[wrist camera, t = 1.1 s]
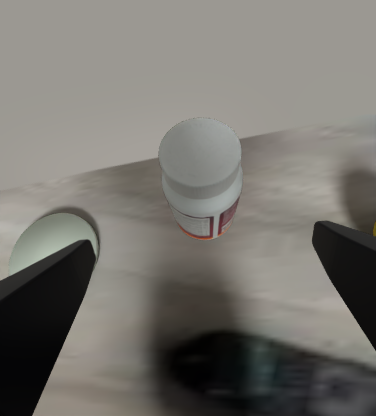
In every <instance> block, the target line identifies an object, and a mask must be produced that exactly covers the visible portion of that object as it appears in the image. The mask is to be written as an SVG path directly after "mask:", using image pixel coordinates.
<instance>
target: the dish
mask: <svg viewBox="0 0 376 416" xmlns="http://www.w3.org/2000/svg"><path fill="white" fill-rule="evenodd" d="M84 239H89V240H90V241H91V243H92V246H93V249H94V252H95V255H96V262H97V258H98V252H99V245H98V239H97V236H96V233H95V231H94V229H93V228H92V227H91V225H90V224H89V223H88V222H86V221H85V220H83V219H82V218H80V217H78V216H76V215H74V214H70V213H56V214H51V215H48V216H46V217H43V218H41V219H39V220H38V221H36V222H35V223H33V224H32V225H31V226H30V227H28V228H27V229H26V230H25V231H24V232H23V234H22V235H21V236H20V238H19V239H18V241H17V242H16V244H15V246H14V248H13V250H12V253H11V257H10V261H9V276H11V275H13V274H15V273H16V272H18V271H20V270H22V269H24V268H26V267H28V266H30V265H32V264H34V263H36V262H38V261H39V260H41V259H43V258H45V257H47V256H49V255H51V254H53V253H55V252H57V251H59V250H61V249H62V248H64V247H66V246H68V245H70V244H72V243H74V242H76V241H78V240H84ZM96 262H95V265H96ZM95 265H94V268H95ZM94 268H93V270H94Z"/></svg>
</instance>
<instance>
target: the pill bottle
mask: <svg viewBox="0 0 376 416" xmlns="http://www.w3.org/2000/svg"><path fill="white" fill-rule="evenodd" d="M241 152H242V150H241V144H240V141H239V138H238V137H237V135H236V134H235V132H234V131H233V130H232V129H231V128H230V127H229V126H227V125H226V124H224V123H222V122H220V121H218V120H215V119H210V118H193V119H189V120H186V121H183V122H181V123H179V124H177V125H176V126H174V127H173V128H172V129H170V130H169V131H168V132H167V134H166V135H165V136H164V138H163V140H162V141H161V144H160V147H159V162H160V166H161V169H162V187H163V191H164V194H165V197H166V198H167V201H168V203H169V205H170V207H171V210H172V212H173V214H174V216H175V219H176V221H177V223H178V225H179V227H180V228H181V229H182V231H183V232H184V233H186V234H187V235H188V236H190V237H192V238H194V239H198V240H211V239H214V238H217V237H219V236H221V235H222V234H224V233H225V232H226V231H227V230H228V228H229V227H230V225H231V223H232V221H233V218H234V215H235V211H236V208H237V204H238V201H239V197H240V194H241V190H242V185H243V171H242V167H241V164H240V160H241Z"/></svg>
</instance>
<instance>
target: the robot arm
mask: <svg viewBox="0 0 376 416" xmlns="http://www.w3.org/2000/svg"><path fill="white" fill-rule="evenodd" d="M312 244H313V247H314V249H315V251H316V253H317V255H318V257H319V259H320V261H321V263H322V265H323V267H324V269H325V271H326V273H327V275H328V277H329V279H330V280H331V282H332V283H333V285H334V287H335V288H336V290H337V291H338V293H339V294H340V296H341V298H342V299H343V301H344V302H345V304H346V305H347V307H348V308H349V310H350V311H351V313H352V315H353V316H354V318H355V319H356V321H357V322H358V324H359V325H360V327H361V329H362V330H363V332H364V333H365V335H366V336H367V338H368V339H369V341H370V343H371V344H372V346H373V347H374V349H375V350H376V236H373V235H370V234H367V233H364V232H361V231H358V230H355V229H352V228H348V227H345V226H342V225H339V224H336V223H333V222H330V221H317V222H316V223H315V225H314V230H313V237H312ZM95 262H96V255H95V252H94V249H93V246H92V243H91V241H90V240H89V239H84V240H78V241H76V242H74V243H72V244H70V245H68V246H66V247H64V248H62V249H61V250H59V251H57V252H55V253H53V254H51V255H49V256H47V257H45V258H43V259H41V260H39V261H38V262H36V263H34V264H32V265H30V266H28V267H26V268H24V269H22V270H20V271H18V272H16V273H15V274H13V275H11V276H9V277H7V278H5V279H3V280H1V281H0V416H32V415H33V413H34V410H35V408H36V406H37V403H38V401H39V399H40V397H41V394H42V392H43V390H44V387H45V385H46V383H47V381H48V378H49V376H50V374H51V372H52V369H53V367H54V365H55V362H56V360H57V358H58V356H59V353H60V351H61V349H62V346H63V344H64V342H65V340H66V337H67V335H68V333H69V330H70V328H71V326H72V324H73V321H74V319H75V317H76V314H77V312H78V310H79V308H80V305H81V303H82V301H83V298H84V296H85V293H86V290H87V288H88V284H89V281H90V278H91V275H92V272H93V268H94V265H95Z"/></svg>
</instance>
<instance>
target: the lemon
mask: <svg viewBox="0 0 376 416" xmlns="http://www.w3.org/2000/svg"><path fill="white" fill-rule="evenodd" d="M373 236H376V221H375V224H374V228H373Z"/></svg>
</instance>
